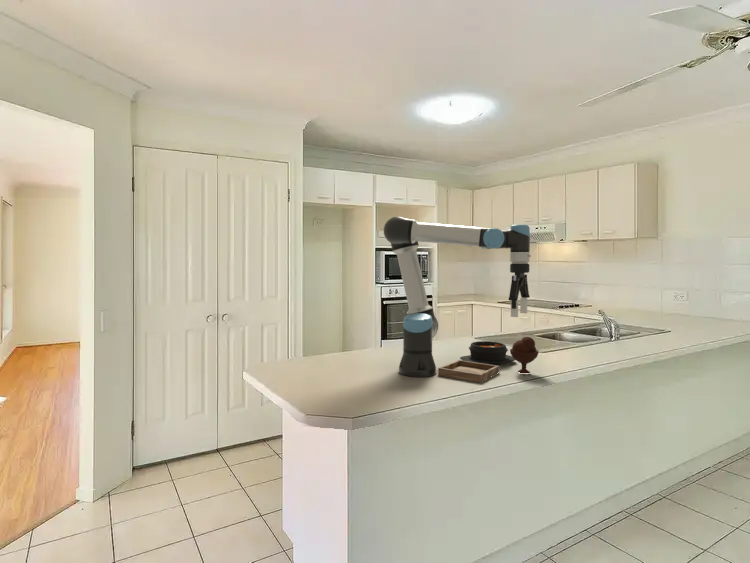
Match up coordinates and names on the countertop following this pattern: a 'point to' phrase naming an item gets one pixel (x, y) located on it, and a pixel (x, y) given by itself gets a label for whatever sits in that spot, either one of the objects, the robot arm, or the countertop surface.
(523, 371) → the ice cream bowl
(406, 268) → the robot arm
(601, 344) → the countertop surface
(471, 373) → the walnut tray
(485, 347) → the casserole
